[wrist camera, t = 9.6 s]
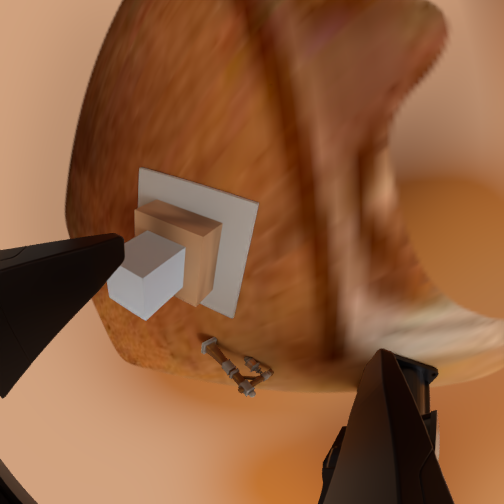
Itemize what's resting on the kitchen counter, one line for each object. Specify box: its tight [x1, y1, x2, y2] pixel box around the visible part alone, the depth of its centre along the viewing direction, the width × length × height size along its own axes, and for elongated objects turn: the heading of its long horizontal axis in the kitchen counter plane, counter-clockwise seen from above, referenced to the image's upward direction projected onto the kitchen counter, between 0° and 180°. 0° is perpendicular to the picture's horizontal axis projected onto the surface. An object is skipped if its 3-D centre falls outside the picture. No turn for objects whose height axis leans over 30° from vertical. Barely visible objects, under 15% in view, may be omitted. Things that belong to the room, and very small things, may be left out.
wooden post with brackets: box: [201, 337, 274, 397], centre depth 28 cm, size 2×8×4 cm, turn 78°
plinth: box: [134, 199, 223, 307], centre depth 24 cm, size 7×7×3 cm
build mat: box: [138, 167, 259, 319], centre depth 25 cm, size 12×12×1 cm
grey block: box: [107, 230, 186, 321], centre depth 20 cm, size 4×4×5 cm
